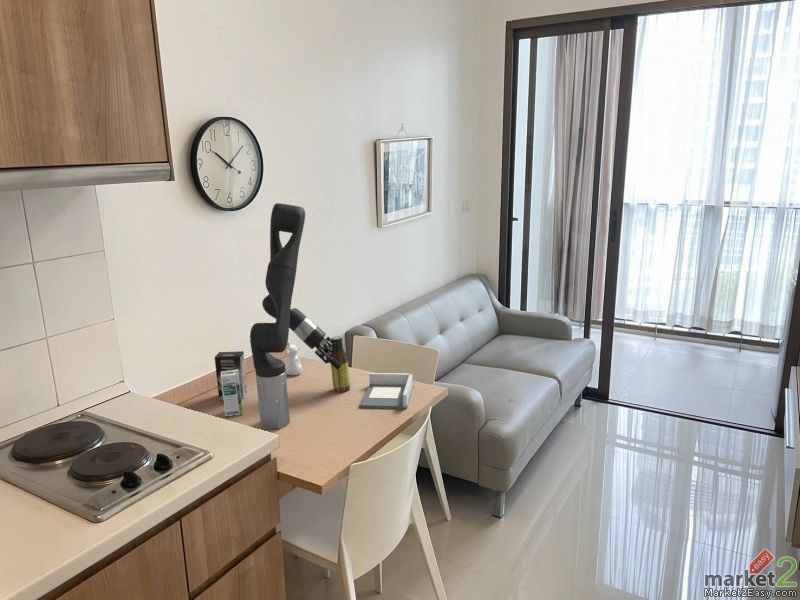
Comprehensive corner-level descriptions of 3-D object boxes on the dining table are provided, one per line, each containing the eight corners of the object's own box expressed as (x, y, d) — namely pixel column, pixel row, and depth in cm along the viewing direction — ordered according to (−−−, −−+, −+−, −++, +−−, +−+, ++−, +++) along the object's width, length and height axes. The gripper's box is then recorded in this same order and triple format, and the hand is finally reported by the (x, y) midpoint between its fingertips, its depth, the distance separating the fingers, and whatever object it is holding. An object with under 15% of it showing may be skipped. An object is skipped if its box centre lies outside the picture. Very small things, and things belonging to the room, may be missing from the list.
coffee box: (218, 400, 211) (213, 357, 207) (223, 393, 217) (218, 351, 213) (244, 399, 211) (239, 356, 207) (248, 392, 217) (243, 350, 214)
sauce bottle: (351, 386, 219) (348, 334, 215) (348, 392, 213) (345, 339, 209) (334, 386, 220) (330, 334, 215) (330, 392, 214) (327, 340, 209)
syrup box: (224, 417, 196) (220, 376, 193) (225, 410, 202) (220, 370, 198) (242, 415, 198) (238, 374, 194) (242, 408, 203) (238, 368, 200)
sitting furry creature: (296, 367, 241) (293, 339, 239) (310, 372, 236) (307, 343, 233) (277, 374, 235) (274, 345, 232) (291, 379, 229) (288, 349, 226)
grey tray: (406, 408, 198) (406, 394, 197) (359, 407, 200) (359, 394, 199) (413, 386, 217) (412, 373, 216) (370, 385, 219) (369, 372, 218)
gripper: (310, 331, 205) (345, 363, 206) (321, 320, 219) (353, 350, 220) (297, 346, 207) (331, 377, 208) (308, 334, 221) (340, 363, 222)
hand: (342, 363), depth 214 cm, fingers open, 8 cm apart
